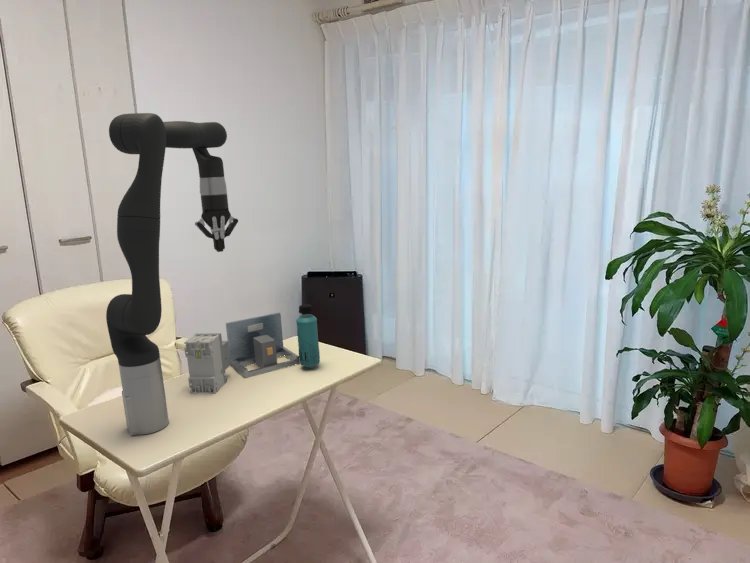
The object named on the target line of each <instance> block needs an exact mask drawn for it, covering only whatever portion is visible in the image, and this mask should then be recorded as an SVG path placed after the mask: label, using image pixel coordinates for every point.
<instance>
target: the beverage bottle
mask: <svg viewBox="0 0 750 563" xmlns="http://www.w3.org/2000/svg"><path fill="white" fill-rule="evenodd" d="M298 313H299V314H301V315H300V316H298V317H297V318H296V334H297V336H296V337H297V341H298V342H297V344H298V345H297V346H298V356H299V359H300V360H299V361H300V364H299V365H301V366H302V367H314V366H315V367H316V366H318V365H319V364H320V362H321V356H320V355H321V354H320V353H321V352H320V342H319V335H318V323H317V322H318V318H317V317H316V316H315V315H313V314H312V313H313V306H312V304H309V303H308V304H307V303H306V304H305V303H304V304H301V305H299V306H298ZM310 313H311V314H310Z"/></svg>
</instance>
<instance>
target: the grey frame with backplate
mask: <svg viewBox="0 0 750 563" xmlns="http://www.w3.org/2000/svg"><path fill="white" fill-rule="evenodd" d="M281 314H282V313H281V312H275V313H270V314H265V315H261V316H255V317H248V318H245V319H239V320H234V321H230V322H225V329H226V338H227V340H226V341H228V346H229V355H230V365H229V367H230V366H231V367H232V368H233V369H234V370H235V371H236V372H238V374H240V375H241V376H242V377H243V378H245V379H246V378H250V377H254V376H258V375H262V374H266V373H270V372H273V370H274V371H278V370H281V369H284V367H285V368H287V367H288V366H289V367H293V366H296V365H295V364H297V365H301V364H300V361H299V360H300V358H299V354H296V353H294V352H293V351H291V350H290V349H288V348H287V347H285V346H284V341H283V340H284V337H283V327H282V315H281ZM263 335H268V336H269V337H271V338H273V339H274V340H275V343H276V354H277V357H280V356H284V355H285V356H286V357H287V358H286V357H285V356H284V357H285V358H286V359H288V358H289V359H290V360H289V359H288V360H287V361H283V362H279V363H278V362H277V364H274V365H270V366H266V367H262V368H259V367H258V368H254V369H250V370H248V368H247V367H246V366H251V364H252V365H256V364H255V363H256V362H255V352H254V342H253V338H254V337H258V336H263ZM280 358H281V357H280ZM292 365H293V366H292ZM280 368H281V369H280ZM277 369H278V370H277Z"/></svg>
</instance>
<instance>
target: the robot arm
mask: <svg viewBox="0 0 750 563" xmlns="http://www.w3.org/2000/svg"><path fill="white" fill-rule="evenodd" d="M108 134H109V136H108V137H109V140H110V141H111V142H110V143H112V145H113V146H114V149H115V148H116V150H118V151H119V152H121V153H123V154H127V155H139V158H138V168H137V172H136V174H135V177H134V179H133V181H132V183H131V185H130V186H129V187H128V189H127V191H126V193H125V194H124V195H123V197H122V199H121V201H120V204H119V205H118V208H117V219H116V220H117V221H116V222H117V223H116V238H117V242H118V245H119V248H120V250H121V252H122V255H123V257H124V259H125V261H126V263H127V265H128V267H129V270H130V274H131V293H130V294H129V293H128V294H127V293H122V294H117V295H115V296H114V297H113V298H112V299H111V300H110V301H109V303H108V304H107V307H106V314H105V316H106V317H105V319H106V326H107V331H108V336H109V340H110V344H111V350H112V352H113V354H114V355H115V357H116V358H117V361H118V370H119V376H120V382H121V383H120V384H121V389H122V391H121V397H122V403H123V410H124V416H125V421H126V422H125V423H126V427H127V430H128V431H129V434H130V436H131V437H132V436H136V435H148V434H153V433H156V432H159V431H161V430H163V429H164V428H166V427H167V426H168V425H169V423H170V420H169V419H170V418H169V413H168V406H167V404H168V403H167V399H166V390H165V382H164V377H163V376H164V375H163V370H162V363H161V361H162V360H161V354H160V349H159V346H158V345H157V344H156V343H155V342H153V341H152V340H150V339H149V338H148V337H147V336H150V335H151V334H153V333H154V332H155V331H156V330H157V329H158V327H159V325H160V324H161V319H162V295H161V294H162V293H161V285H160V284H161V281H160V239H161V196H162V195H161V193H162V180H163V179H162V178H163V172H164V171H163V170H164V165H165V164H164V163H165V156H166V148H168V149H169V148H170V149H192V152H193V154H194V157H195V160H196V163H197V166H198V174H199V175H198V176H199V194H200V201H201V211H202V212H201V218H200V219H199V220H198V221H195V222H194V225H195V227H197V229H198V230H200V232H202V234H204V235H205V237H206V238H208V239H209V238H210V239H212V242H213V249H214V250H215V251H216V252H217V253H220V252H224V250H225V248H226V246H225V238H227V237H230V236H231V234H232V232H233V231H234V229H235V227H236V226H237V224H238V223H239V219H238V218H235V217H233V216H232V214H231V212H230V209H229V201H228V189H227V183H226V179H225V171H224V161H223V159H222V158H221V156H215V155H212V154H210V152H209V151H208V149H210V148H211V149H213V148H214V149H215V148H221V147H222V146H223V145H225V144H226V142H227V139H228V134H227V130H226V128H225V126H223V125H222V124H221V122H220V123H219V122H216V121H208V122H205V121H204V122H194V121H186V120H185V121H184V120H178V121H177V120H172V121H163V119H162V118H161V117H160V116H159V115H158V114H156V113H154V112H153V113H150V112H139V113H137V112H136V113H133V112H132V113H122V114H118V115H117V116H115V117H114V118H113V119H112V120H111V121H110V123H109V126H108ZM227 223H228V225H227ZM206 225H207V226H208V227H209V229H210V231H211V232H210V231H209V230H208V229H207V228H206V227H205V226H206ZM225 228H226V229H225Z"/></svg>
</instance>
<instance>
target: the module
mask: <svg viewBox="0 0 750 563" xmlns="http://www.w3.org/2000/svg"><path fill="white" fill-rule="evenodd" d="M253 342H254V352H255V362H256V364H255V365H256V367H258V366H259V367H260V368H262V367H266V366H270V365H274V364H278V358H277V354H276V343H275V340H274V339H273V338H271V337H269V336H268V335H263V336H258V337H254V338H253ZM259 367H258V368H259Z"/></svg>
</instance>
